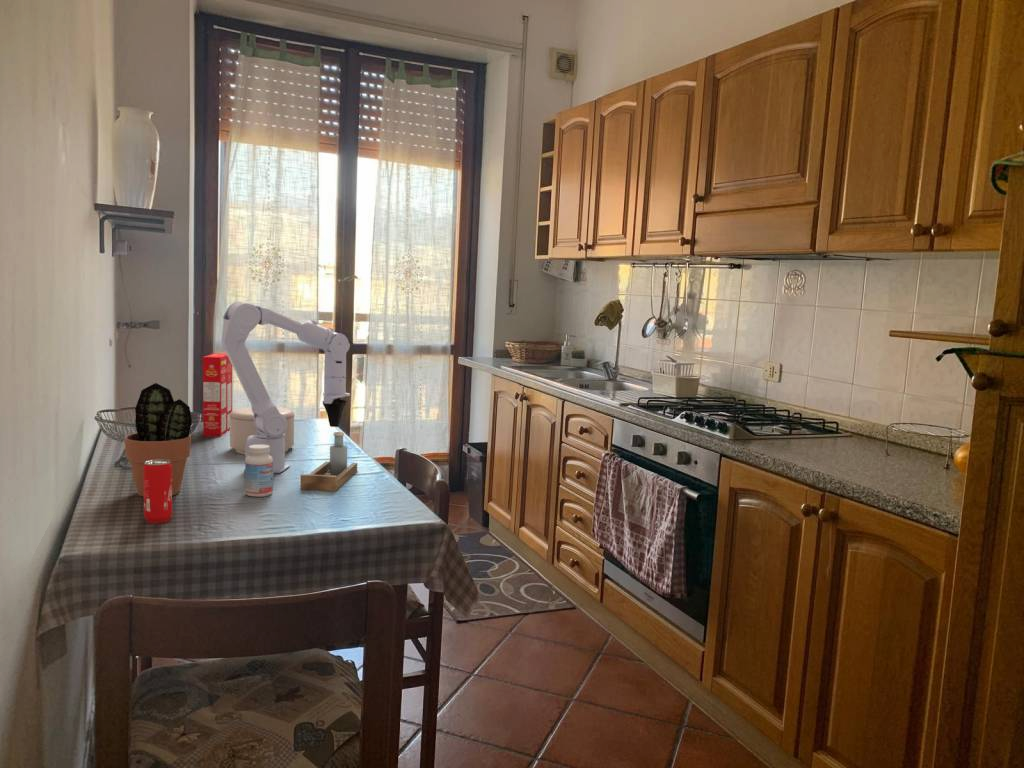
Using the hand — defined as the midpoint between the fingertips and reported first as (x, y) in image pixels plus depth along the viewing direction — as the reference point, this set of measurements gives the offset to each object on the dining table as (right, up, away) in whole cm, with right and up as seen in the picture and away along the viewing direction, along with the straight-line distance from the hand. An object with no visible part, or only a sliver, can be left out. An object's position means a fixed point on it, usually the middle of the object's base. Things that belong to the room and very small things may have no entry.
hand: (334, 426), depth 210 cm
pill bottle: (-10, -14, -32) cm, 37 cm away
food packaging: (-47, -4, +40) cm, 62 cm away
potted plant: (-32, -13, -34) cm, 49 cm away
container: (-25, -8, +16) cm, 31 cm away
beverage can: (-23, -16, -55) cm, 61 cm away
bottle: (+3, -12, -9) cm, 15 cm away
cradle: (+3, -12, -16) cm, 20 cm away
